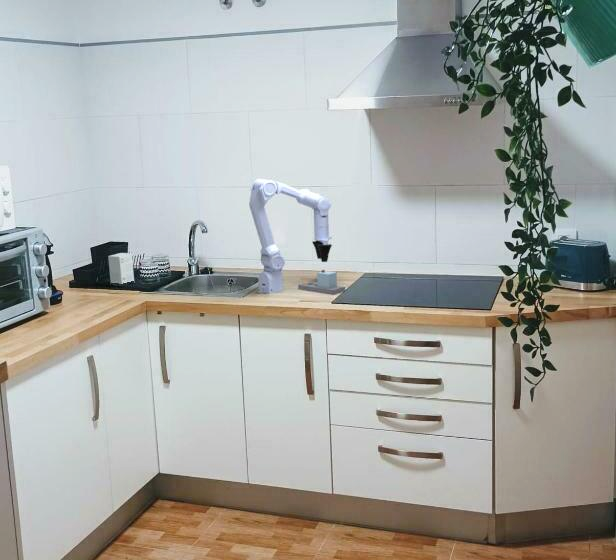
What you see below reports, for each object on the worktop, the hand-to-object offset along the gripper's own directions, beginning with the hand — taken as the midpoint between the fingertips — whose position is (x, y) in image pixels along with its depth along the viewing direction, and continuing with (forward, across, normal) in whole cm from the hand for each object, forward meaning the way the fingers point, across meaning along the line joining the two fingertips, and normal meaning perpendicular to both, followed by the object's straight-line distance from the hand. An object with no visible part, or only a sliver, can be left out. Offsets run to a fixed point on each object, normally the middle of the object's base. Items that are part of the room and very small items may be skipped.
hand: (322, 260), depth 323 cm
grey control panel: (+10, -13, +4) cm, 17 cm away
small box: (+11, +32, +80) cm, 87 cm away
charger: (+10, -15, +2) cm, 18 cm away
